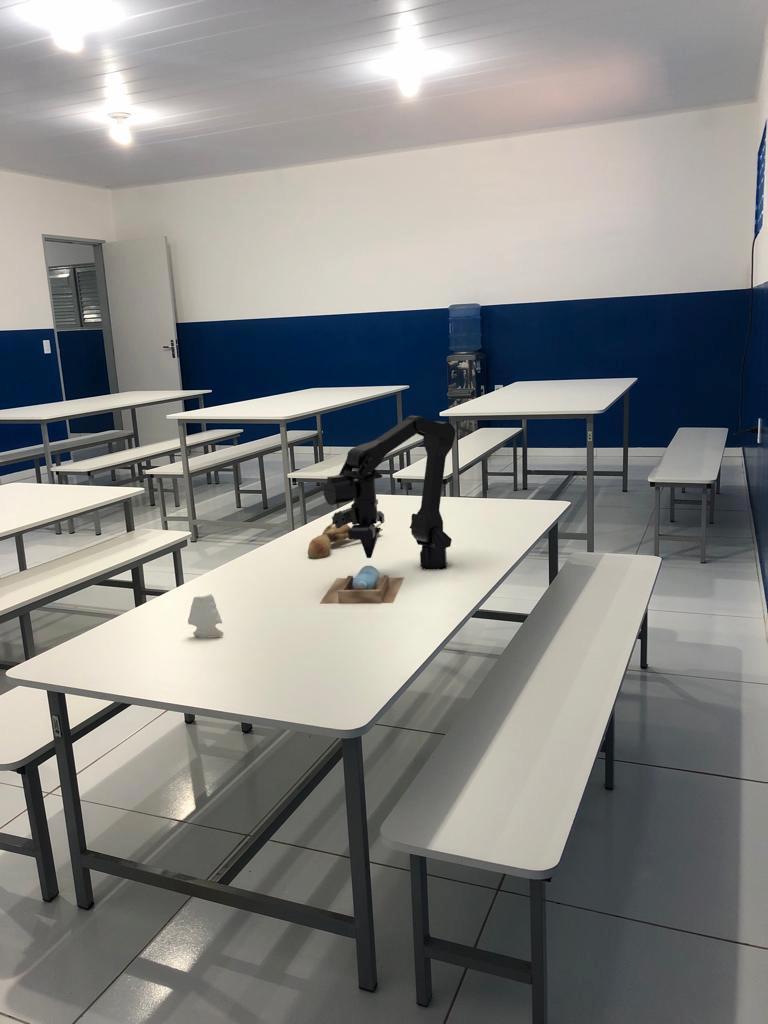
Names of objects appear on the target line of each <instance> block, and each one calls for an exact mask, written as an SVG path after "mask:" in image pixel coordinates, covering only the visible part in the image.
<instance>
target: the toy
mask: <svg viewBox="0 0 768 1024" xmlns="http://www.w3.org/2000/svg"><path fill="white" fill-rule="evenodd" d="M381 525H382V524H381V523H379V524H377V525H375V528H379V527H380V526H381ZM350 528H351V526H349V524H346V525H343V526H341V528H338V529H337V528H336V526H335V524H333V523H332V522H331V523H330V524H329V525H328V526H326V528H324V530H323V532H322V534H320V535H317V536H316V537H314V538H312V539H311V541H310V542H309V544H308V549H307V557H308V558H309V559H319V558H320V559H321V558H325V557H326V556H328V555H329V554H330V552H331V549H332V543H335V542H340V541H346V540H347V539H348V531H349V530H350ZM383 530H384V529H383V528H381V530H380V532H382V531H383ZM379 535H380V536H381V534H380V533H379Z"/></svg>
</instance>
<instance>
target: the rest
mask: <svg viewBox="0 0 768 1024" xmlns="http://www.w3.org/2000/svg"><path fill="white" fill-rule="evenodd" d="M354 579H355V577H354V576H353V575H347V577H346V578H345V577H344V578H343V577H342V578H340V577H339V578H336V579H335V581H333V583H332V584H331V586H330V588H329V589H328V590H327V592H326V593H325V595H324V596H323V597H322V599H321V601H320V602H319V604H320V605H323V604H324V605H325V604H326V605H330V604H339V605H341V604H393V603H394V602H395V601H396V597H397V595H398V593H399V591H400V589H401V586H402V584H403V582H404V580H405V576H402V577H398V576H396V577H395V576H394V577H390V576H389V574H385V575H383V576H382V577H379V580H378V581H377V583H376V585H375V586H374V588H373V590H354V589H353V580H354Z"/></svg>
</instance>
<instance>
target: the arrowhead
mask: <svg viewBox="0 0 768 1024" xmlns="http://www.w3.org/2000/svg"><path fill="white" fill-rule="evenodd" d="M187 624H188V625H192V626H194V627H196V629H195V630H194V631H193V633H192V635H193V636H194V637H197V638H198V637H205V638H208V637H214V638H221V637H223V636H224V632H223V631H222V630H221V629H219V628H217V626H216V625H217V624H223V620H222V618H221V615H220V612H219V610H218V608H217V603H216V601H215V597H214V595H213V594H211V593H210V594H205V595H201V596H199V595H198V596H194V597H193V599H192V603H191V606H190V612H189V615H188V618H187Z"/></svg>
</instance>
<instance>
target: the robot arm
mask: <svg viewBox="0 0 768 1024" xmlns="http://www.w3.org/2000/svg"><path fill="white" fill-rule="evenodd" d="M456 432H457V431H456V428H455V427H454V425H453V424H452V423H450V422H446V421H433V420H431V419H428V418H425V417H422V416H421V415H409V416H407V417H406V418H405V419H404V420H403V421H401V422H400V423H398V424H396V425H395V426H394V427H392V428H391V429H390V430H388V431H386V432H385V433H383V434H382V435H381V436H378V437H377V438H376V439H374V440H372V441H370V442H369V441H368V442H365V443H362V444H360V445H358V446H353V447H352V448H351V449H350V450H348V452H347V456H346V460H345V461H344V464H343V466H342V468H341V470H340V471H339V473H338V475H335V476H334V475H333V476H327V478H326V480H327V481H326V483H325V484H324V488H323V491H322V493H323V496H324V500H325V501H326V503H327V504H328V505H330V506H333V505H338V504H339V505H340V504H342V503H348V502H352V501H353V502H352V503H351V506H350V507H348V508H346V509H343V510H339V511H337V512H335V513H334V514H333V516H331V519H332V521H331V524H332V523H333V524H334V525H335V526H336V528H337V529H338V528H341V526H343V525H346V524H347V525H349V524H350V523H351V525H352V526H350V530H349V531H348V538H347V539H348V540H352V541H353V540H359V541H360V543H361V545H362V548H363V550H364V554H365V556H366V558H367V559H371V558H372V557H373V554H374V550H375V547H376V544H377V541H378V538H379V537H380V536H379V534H380V532H381V531H380V530H381V529H382V528H381V527H377V528H375V526H376V525H375V524H377V523H378V522H379V523H380V524H381V525H382V524H384V523H385V514H384V513H383V512H382V511H381V510H378V504H379V499H377V492H376V491H377V490H376V489H377V488H376V480H379V479H382V478H383V475H382V474H381V473H380V472H378V471H377V468H378V467H379V466H380V465H381V464H383V461H384V459H385V457H386V456H387V455H388V454H389V453H391V452H392V451H393V450H395V449H397V448H398V447H399V446H401V445H402V444H404V443H405V442H407V441H408V440H409V439H411V438H412V437H414V436H415V435H418V436H422V437H423V438H422V439H423V440H422V441H423V445H424V450H425V452H426V462H425V463H426V464H425V469H424V479H423V485H422V486H423V487H422V495H421V501H420V508H419V510H418V511H417V513H412V514H411V523H410V526H409V529H411V530H410V532H411V536H412V537H413V538H414V539H415V541H416V544H417V545H419V546H421V550H420V552H419V559H420V567H421V570H422V571H424V570H425V571H426V570H427V571H428V570H446V569H447V567H448V563H449V562H448V559H447V548H450V547H451V545H452V541H453V540H452V538H451V536H449V535H448V534H447V533H446V532H445V531H444V520H443V518H442V515H441V512H440V505H441V499H442V489H443V482H444V474H445V467H446V459H447V456H448V454H450V453H449V452H450V451H451V450H452V448H453V446H454V443H455V438H456V434H457V433H456Z"/></svg>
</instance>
